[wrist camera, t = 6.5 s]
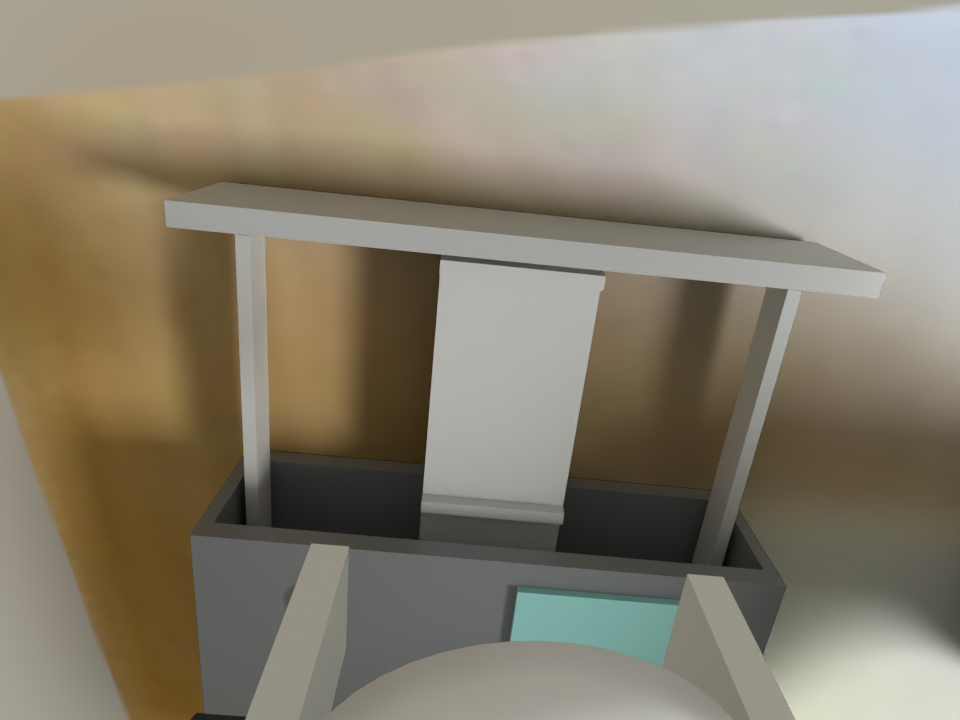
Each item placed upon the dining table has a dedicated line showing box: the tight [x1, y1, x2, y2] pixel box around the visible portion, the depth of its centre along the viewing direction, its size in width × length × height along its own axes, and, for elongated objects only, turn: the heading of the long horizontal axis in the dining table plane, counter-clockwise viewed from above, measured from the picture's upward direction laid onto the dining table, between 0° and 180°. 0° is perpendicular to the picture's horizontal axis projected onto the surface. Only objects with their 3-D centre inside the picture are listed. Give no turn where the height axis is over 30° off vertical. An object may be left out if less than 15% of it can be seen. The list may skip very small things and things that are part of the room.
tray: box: [164, 182, 887, 566], centre depth 25 cm, size 17×22×5 cm
